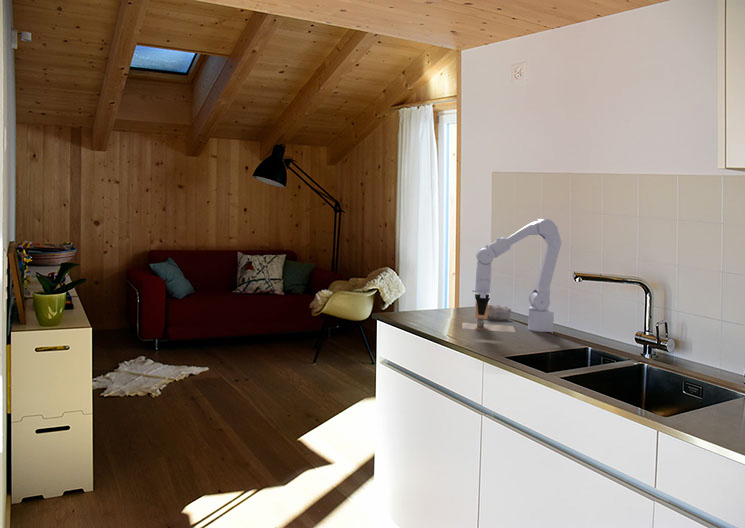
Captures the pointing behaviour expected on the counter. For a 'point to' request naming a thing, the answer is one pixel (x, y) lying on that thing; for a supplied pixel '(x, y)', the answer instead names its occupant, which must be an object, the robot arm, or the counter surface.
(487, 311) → the light orange block
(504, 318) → the stone
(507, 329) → the board
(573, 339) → the counter surface
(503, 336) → the counter surface
